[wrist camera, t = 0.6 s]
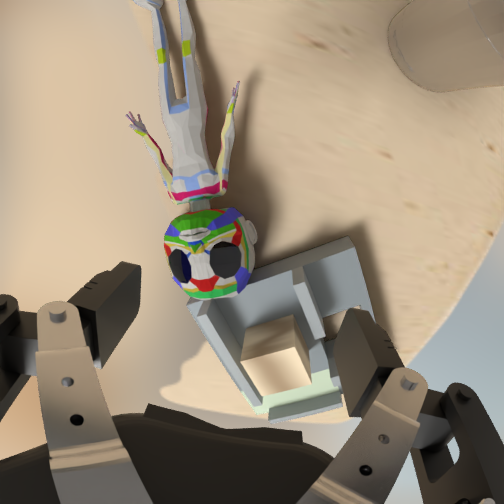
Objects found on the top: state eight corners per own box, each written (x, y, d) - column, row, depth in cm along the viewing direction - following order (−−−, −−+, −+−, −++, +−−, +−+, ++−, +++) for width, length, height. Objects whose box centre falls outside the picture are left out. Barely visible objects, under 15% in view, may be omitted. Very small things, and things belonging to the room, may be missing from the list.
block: (293, 314, 30) (294, 346, 25) (308, 350, 31) (311, 384, 27) (245, 328, 31) (240, 361, 26) (264, 362, 32) (261, 396, 28)
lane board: (348, 235, 29) (362, 260, 24) (382, 362, 35) (393, 396, 30) (193, 290, 33) (177, 322, 28) (258, 398, 39) (254, 432, 33)
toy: (209, -44, 16) (276, 311, 23) (227, 0, 24) (279, 275, 31) (102, -4, 18) (152, 323, 24) (139, 27, 26) (183, 288, 33)
